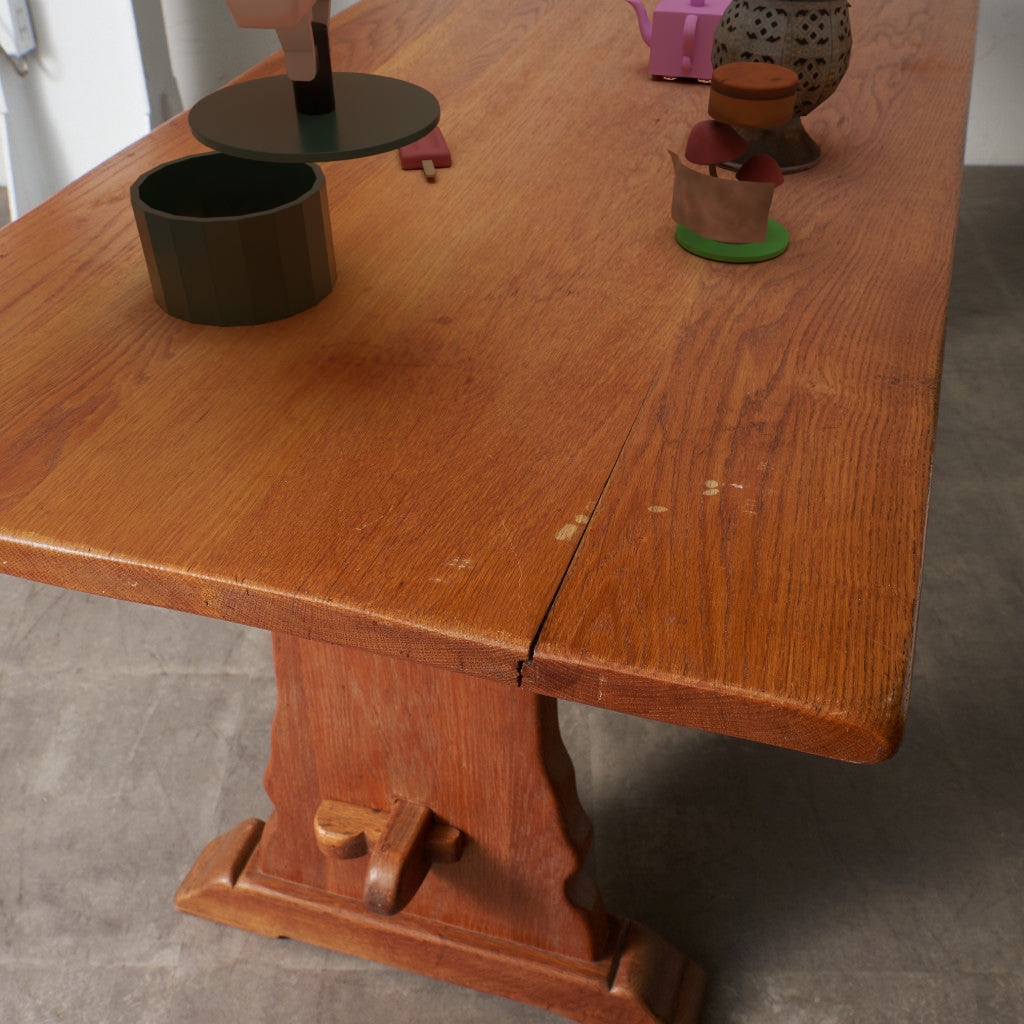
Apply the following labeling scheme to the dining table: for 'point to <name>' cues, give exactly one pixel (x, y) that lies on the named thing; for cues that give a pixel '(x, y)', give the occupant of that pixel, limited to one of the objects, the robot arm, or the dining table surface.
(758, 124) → the mushroom toy stack
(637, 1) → the teapot
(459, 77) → the dining table surface
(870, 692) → the dining table surface
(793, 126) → the lantern
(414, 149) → the popsicle
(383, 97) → the lid
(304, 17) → the robot arm
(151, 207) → the bin
